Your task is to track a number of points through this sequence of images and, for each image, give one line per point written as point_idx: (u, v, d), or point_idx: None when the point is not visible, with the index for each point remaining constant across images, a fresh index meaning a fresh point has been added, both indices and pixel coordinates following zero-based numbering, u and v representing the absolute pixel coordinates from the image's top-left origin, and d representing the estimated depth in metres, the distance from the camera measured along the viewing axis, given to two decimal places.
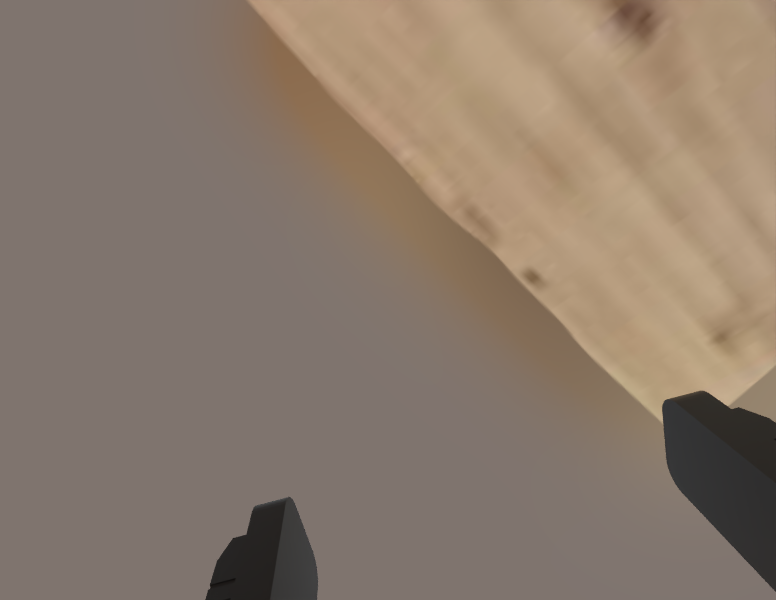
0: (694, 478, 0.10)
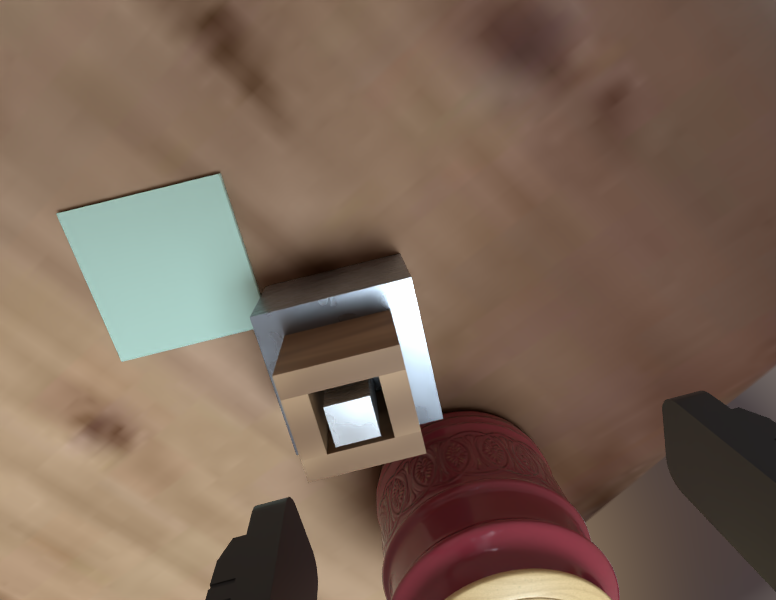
0: (694, 478, 0.10)
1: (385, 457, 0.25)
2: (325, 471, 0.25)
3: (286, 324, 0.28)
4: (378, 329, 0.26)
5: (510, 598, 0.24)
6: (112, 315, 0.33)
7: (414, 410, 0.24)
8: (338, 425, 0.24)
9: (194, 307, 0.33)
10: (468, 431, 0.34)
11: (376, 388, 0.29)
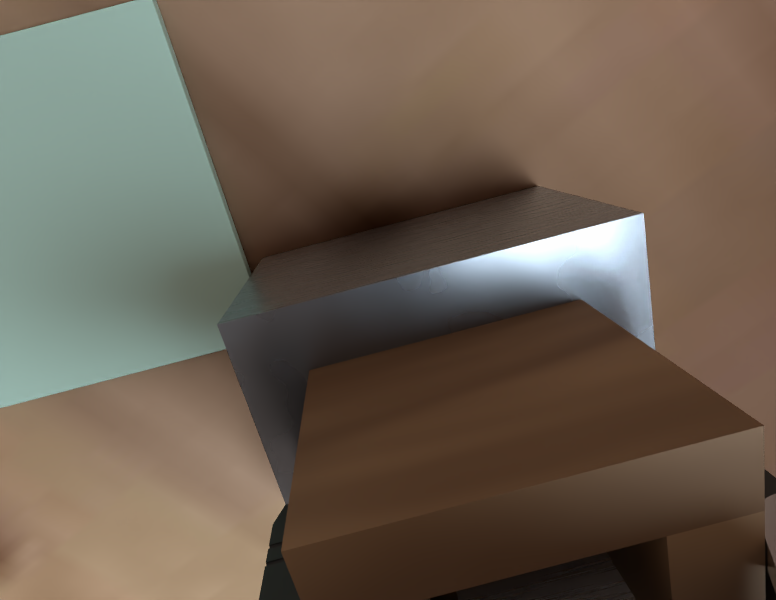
0: None
1: None
2: None
3: (313, 342, 0.11)
4: (598, 359, 0.08)
5: None
6: None
7: None
8: None
9: (114, 303, 0.16)
10: None
11: None
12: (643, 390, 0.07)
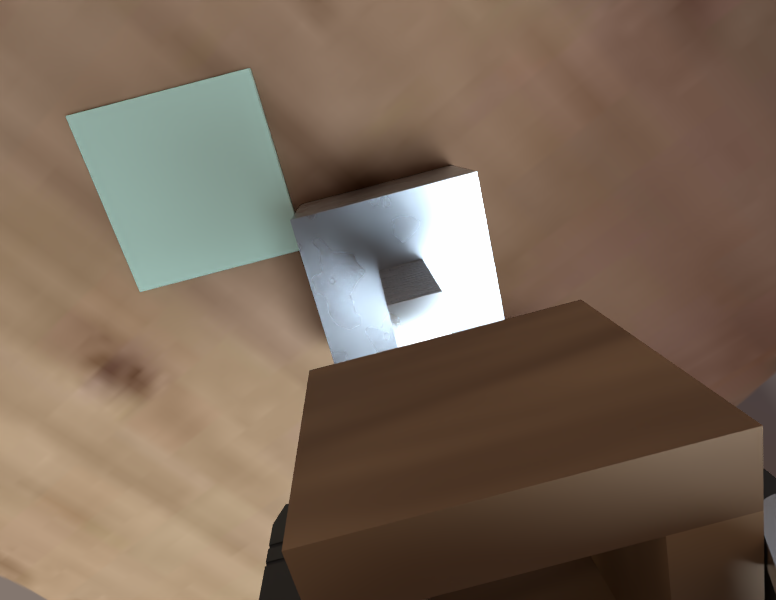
0: None
1: None
2: None
3: (332, 229, 0.24)
4: (598, 359, 0.08)
5: None
6: (129, 237, 0.29)
7: None
8: (404, 328, 0.20)
9: (221, 228, 0.29)
10: None
11: None
12: (642, 390, 0.07)
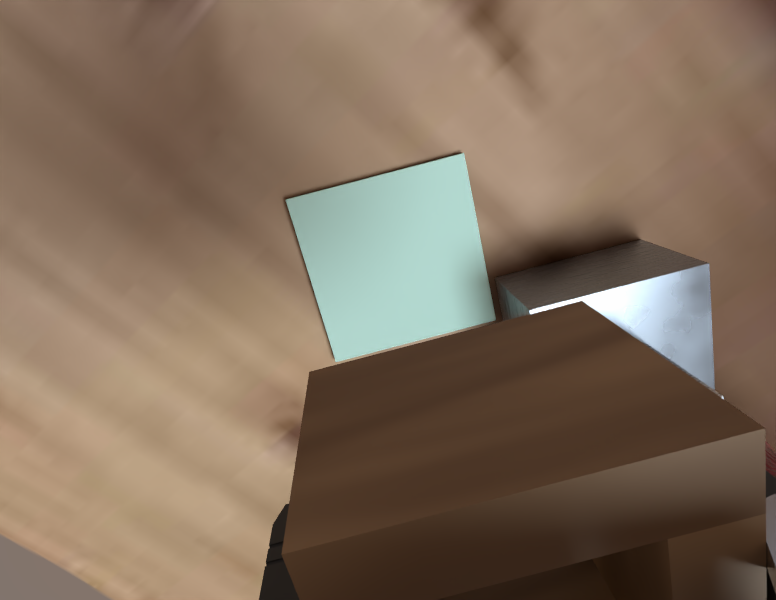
0: None
1: None
2: None
3: None
4: (599, 361, 0.08)
5: None
6: (332, 311, 0.30)
7: None
8: None
9: (419, 301, 0.30)
10: None
11: None
12: (644, 392, 0.07)
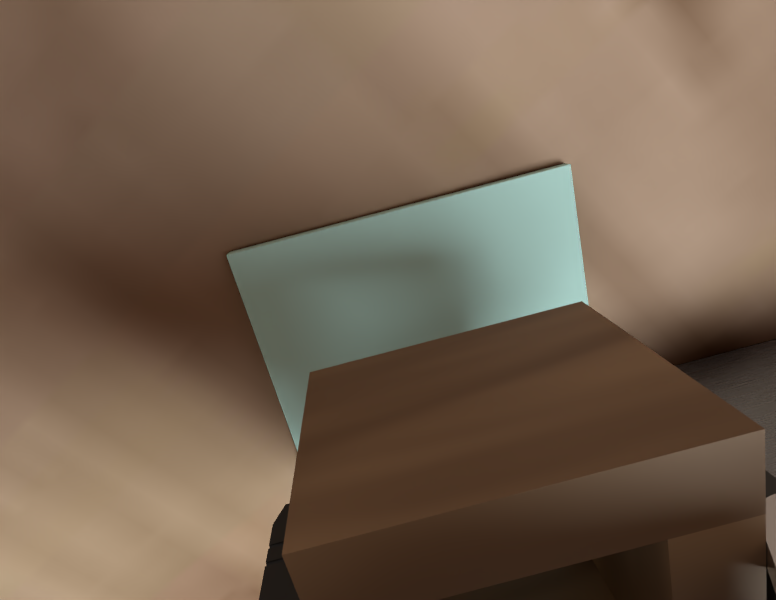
0: None
1: None
2: None
3: None
4: (599, 361, 0.08)
5: None
6: None
7: None
8: None
9: None
10: None
11: None
12: (644, 393, 0.07)
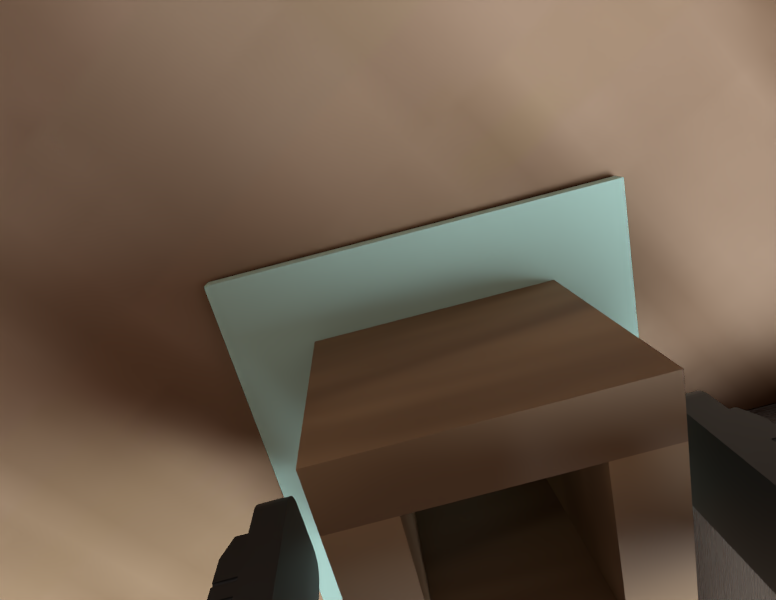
0: (692, 478, 0.10)
1: None
2: None
3: None
4: (561, 326, 0.10)
5: None
6: None
7: (690, 549, 0.09)
8: None
9: None
10: None
11: None
12: (594, 347, 0.09)
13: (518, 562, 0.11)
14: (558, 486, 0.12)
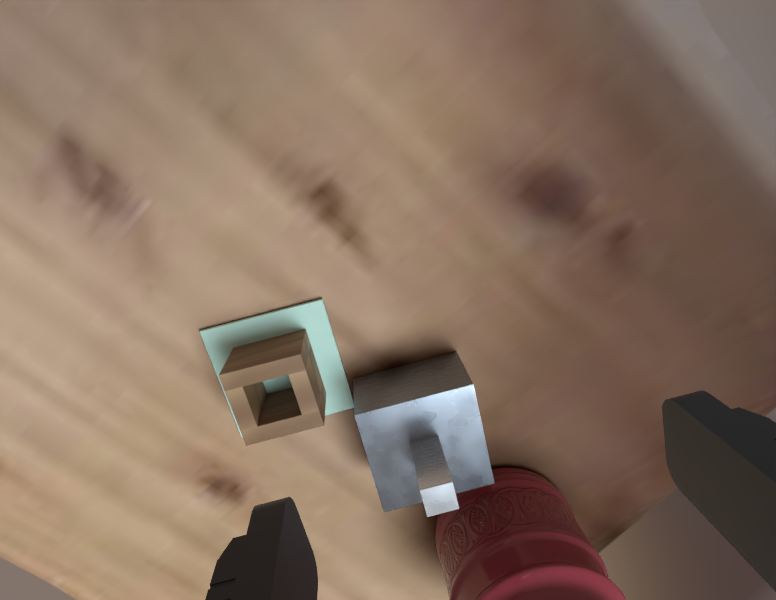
0: (694, 478, 0.10)
1: (296, 428, 0.38)
2: (257, 437, 0.38)
3: (380, 419, 0.38)
4: (292, 344, 0.38)
5: None
6: None
7: (313, 396, 0.37)
8: (429, 502, 0.33)
9: None
10: (510, 487, 0.44)
11: None
12: (292, 349, 0.37)
13: (285, 408, 0.39)
14: None
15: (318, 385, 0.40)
